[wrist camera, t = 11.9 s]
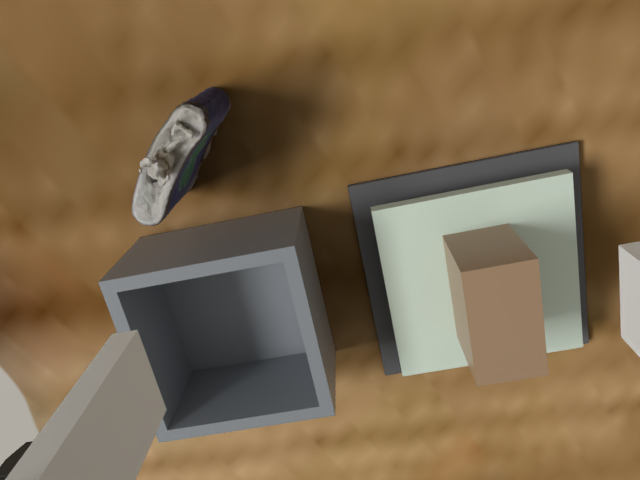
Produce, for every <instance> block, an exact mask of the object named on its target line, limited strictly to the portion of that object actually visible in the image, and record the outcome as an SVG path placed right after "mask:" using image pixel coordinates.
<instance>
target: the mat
mask: <svg viewBox="0 0 640 480" xmlns="http://www.w3.org/2000/svg"><path fill="white" fill-rule="evenodd" d="M563 169H568V170H569V171H571V172H572V173H573V185H574V202H575V219H576V236H577V252H578V269H579V286H580V303H581V319H582V336H583V344H585V343H589V338H588V319H587V299H586V279H585V260H584V240H583V221H582V201H581V181H580V162H579V142H577V141H572V142H567V143H562V144H557V145H552V146H547V147H541V148H536V149H531V150H526V151H521V152H516V153H511V154H506V155H500V156H495V157H490V158H485V159H480V160H475V161H470V162H464V163H459V164H454V165H449V166H444V167H439V168H434V169H429V170H423V171H418V172H413V173H408V174H403V175H398V176H393V177H387V178H382V179H377V180H372V181H367V182H362V183H357V184H352V185H348V190H349V195H350V200H351V205H352V210H353V215H354V220H355V225H356V230H357V235H358V240H359V245H360V250H361V255H362V260H363V265H364V270H365V276H366V281H367V286H368V291H369V296H370V301H371V306H372V311H373V316H374V321H375V326H376V331H377V336H378V341H379V346H380V351H381V356H382V361H383V366H384V372H385V375H391V374H397V373H402V371H401V365H400V360H399V355H398V350H397V344H396V339H395V334H394V329H393V323H392V318H391V313H390V308H389V302H388V297H387V292H386V287H385V281H384V276H383V271H382V265H381V260H380V255H379V250H378V244H377V239H376V234H375V229H374V223H373V218H372V213H371V208H370V207H373V206H378V205H383V204H388V203H393V202H398V201H404V200H409V199H414V198H419V197H424V196H429V195H434V194H440V193H445V192H450V191H455V190H460V189H465V188H471V187H476V186H481V185H486V184H491V183H496V182H501V181H507V180H512V179H517V178H522V177H527V176H532V175H538V174H543V173H548V172H553V171H558V170H563Z"/></svg>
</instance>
